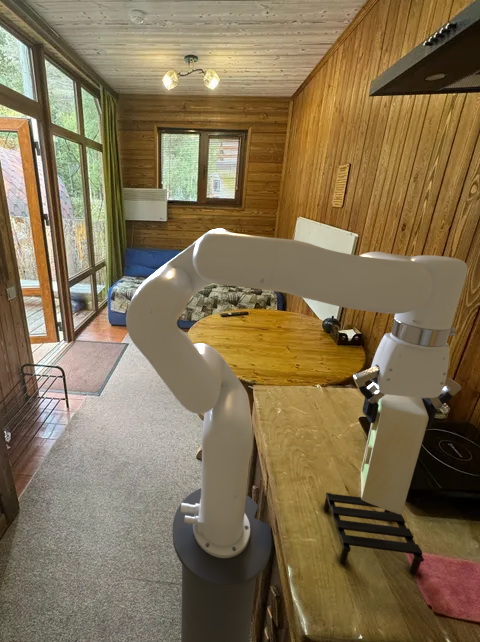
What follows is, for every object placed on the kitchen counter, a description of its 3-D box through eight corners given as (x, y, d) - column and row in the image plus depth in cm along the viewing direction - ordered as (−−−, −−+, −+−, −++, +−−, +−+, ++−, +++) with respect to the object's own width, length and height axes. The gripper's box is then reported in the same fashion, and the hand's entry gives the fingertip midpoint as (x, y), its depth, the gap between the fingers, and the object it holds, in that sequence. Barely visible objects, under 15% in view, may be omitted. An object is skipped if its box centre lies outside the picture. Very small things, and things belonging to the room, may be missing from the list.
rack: (340, 564, 59) (344, 546, 58) (323, 507, 70) (326, 490, 69) (418, 575, 58) (425, 557, 56) (387, 515, 69) (392, 498, 67)
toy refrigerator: (356, 469, 66) (375, 383, 59) (396, 483, 62) (421, 393, 56) (356, 499, 59) (378, 405, 52) (401, 516, 56) (430, 419, 49)
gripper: (459, 327, 53) (434, 411, 58) (354, 321, 55) (338, 403, 60) (495, 345, 46) (462, 440, 51) (372, 337, 48) (353, 430, 53)
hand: (395, 420), depth 56 cm, fingers closed on toy refrigerator, 8 cm apart
